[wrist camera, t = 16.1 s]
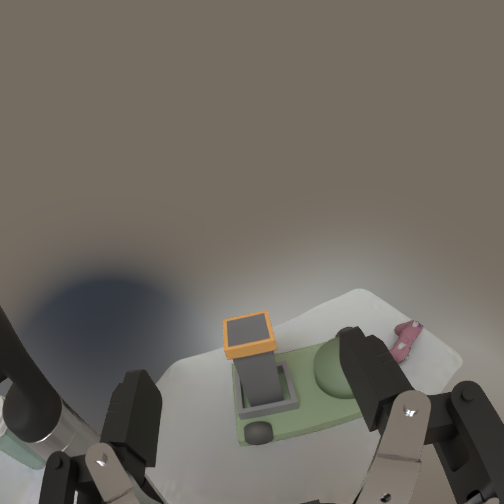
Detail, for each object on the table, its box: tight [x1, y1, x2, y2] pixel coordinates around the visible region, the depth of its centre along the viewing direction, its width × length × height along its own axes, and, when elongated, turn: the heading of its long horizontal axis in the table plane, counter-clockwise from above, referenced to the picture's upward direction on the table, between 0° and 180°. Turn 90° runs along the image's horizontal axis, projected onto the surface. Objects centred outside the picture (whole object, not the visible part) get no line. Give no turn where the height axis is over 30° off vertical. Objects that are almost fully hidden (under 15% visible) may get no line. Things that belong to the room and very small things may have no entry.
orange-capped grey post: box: [223, 310, 284, 407], centre depth 37 cm, size 6×6×14 cm
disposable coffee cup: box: [0, 395, 47, 469], centre depth 25 cm, size 11×11×15 cm
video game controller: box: [389, 320, 423, 364], centre depth 41 cm, size 10×5×7 cm, turn 132°
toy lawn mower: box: [232, 327, 363, 447], centre depth 39 cm, size 24×16×5 cm
